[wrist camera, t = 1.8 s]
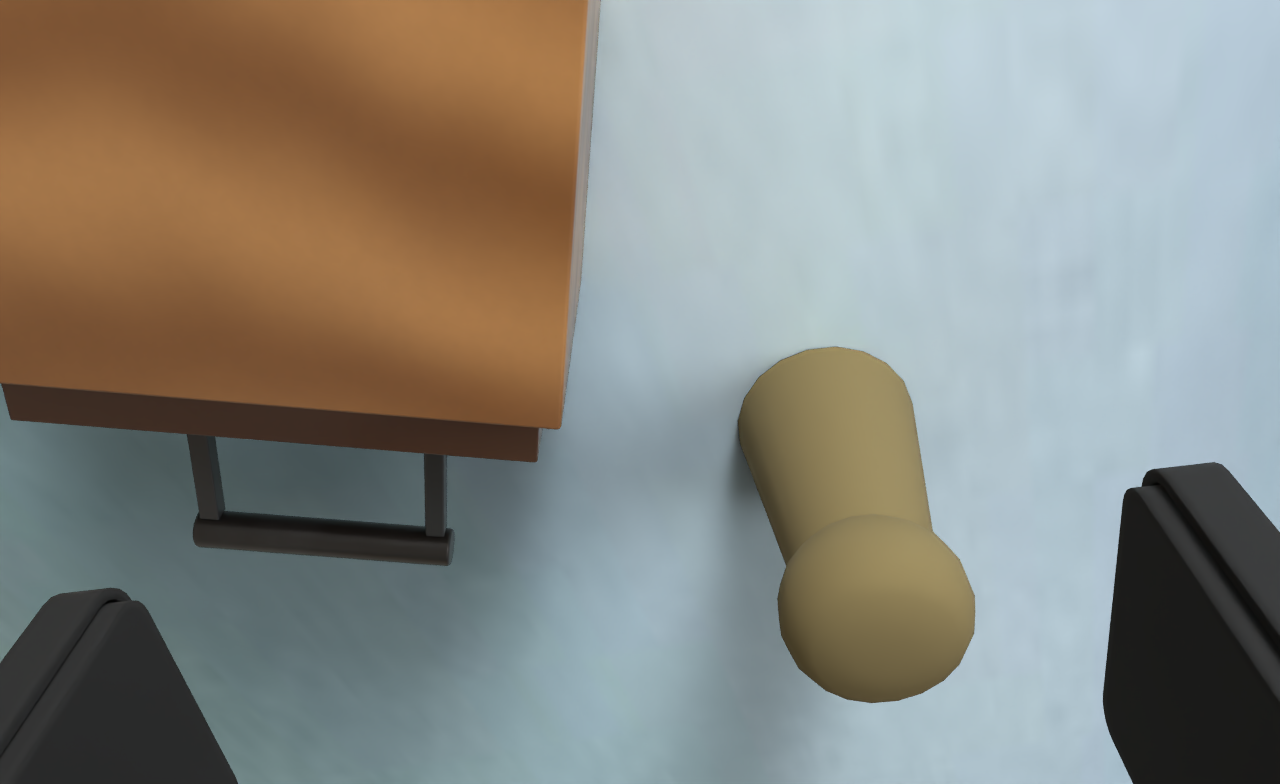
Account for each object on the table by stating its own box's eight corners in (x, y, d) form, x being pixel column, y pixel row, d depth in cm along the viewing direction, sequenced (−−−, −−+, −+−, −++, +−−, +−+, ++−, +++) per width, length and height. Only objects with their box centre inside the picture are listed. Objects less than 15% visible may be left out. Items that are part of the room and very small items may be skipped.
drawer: (547, 504, 36) (527, 645, 31) (157, 472, 36) (59, 611, 30) (585, -133, 26) (566, -105, 20) (36, -191, 26) (-148, -179, 20)
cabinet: (581, 280, 33) (560, 431, 26) (111, 238, 32) (-52, 380, 25) (619, -265, 25) (606, -279, 18) (6, -333, 25) (-274, -378, 17)
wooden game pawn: (926, 349, 34) (1031, 568, 25) (898, 495, 37) (982, 740, 28) (744, 344, 34) (780, 562, 25) (731, 491, 37) (758, 735, 28)
